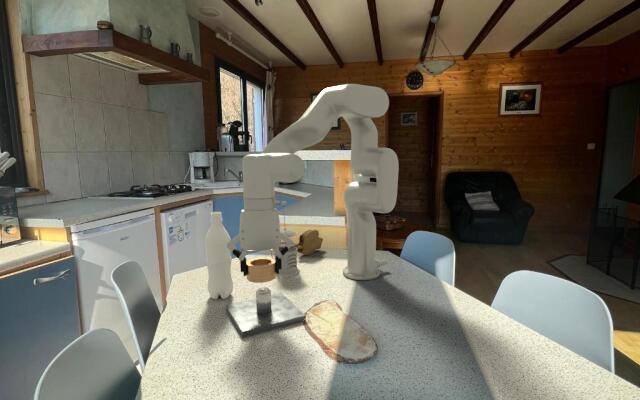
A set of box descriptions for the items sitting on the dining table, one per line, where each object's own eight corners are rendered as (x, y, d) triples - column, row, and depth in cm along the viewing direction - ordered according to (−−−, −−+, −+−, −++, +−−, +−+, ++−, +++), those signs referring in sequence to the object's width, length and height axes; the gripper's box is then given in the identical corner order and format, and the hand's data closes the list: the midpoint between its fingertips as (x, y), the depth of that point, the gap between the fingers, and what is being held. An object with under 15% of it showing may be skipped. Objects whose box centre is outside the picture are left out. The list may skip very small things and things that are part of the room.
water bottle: (226, 302, 99) (221, 215, 96) (203, 300, 101) (197, 214, 97) (237, 292, 106) (233, 210, 103) (215, 290, 108) (210, 210, 104)
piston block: (281, 297, 102) (280, 274, 101) (305, 320, 88) (304, 293, 87) (225, 310, 94) (224, 285, 93) (242, 338, 80) (241, 308, 79)
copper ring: (269, 270, 94) (269, 256, 94) (280, 279, 88) (279, 263, 87) (243, 275, 91) (242, 260, 90) (252, 284, 85) (251, 268, 84)
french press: (305, 269, 125) (304, 200, 121) (285, 280, 115) (283, 205, 111) (283, 265, 130) (281, 198, 126) (262, 274, 120) (259, 202, 117)
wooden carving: (314, 248, 152) (314, 225, 150) (323, 249, 149) (323, 226, 148) (292, 258, 138) (292, 233, 136) (302, 260, 135) (302, 235, 134)
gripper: (292, 201, 92) (293, 266, 94) (224, 203, 89) (227, 270, 91) (296, 205, 85) (297, 276, 87) (221, 208, 82) (224, 281, 84)
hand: (261, 272), depth 89 cm, fingers closed on copper ring, 7 cm apart
